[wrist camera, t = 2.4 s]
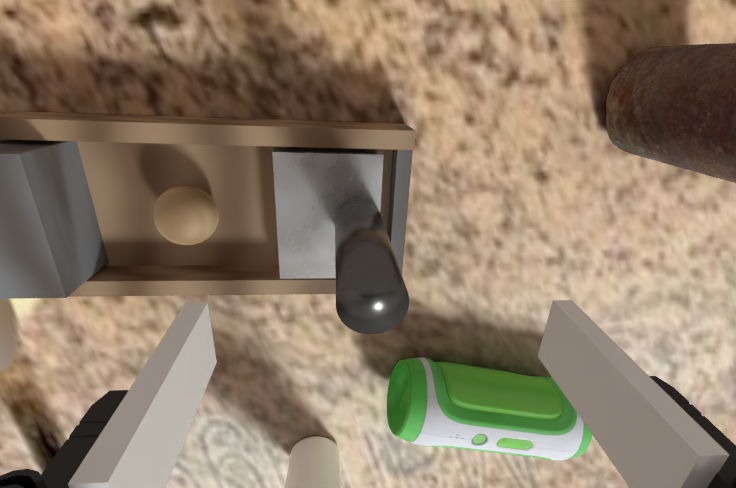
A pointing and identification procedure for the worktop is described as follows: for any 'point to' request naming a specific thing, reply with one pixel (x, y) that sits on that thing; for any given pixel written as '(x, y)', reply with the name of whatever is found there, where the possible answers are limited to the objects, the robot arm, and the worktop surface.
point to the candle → (678, 108)
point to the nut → (186, 215)
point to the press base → (143, 188)
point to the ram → (339, 231)
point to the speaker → (483, 410)
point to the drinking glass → (314, 464)
